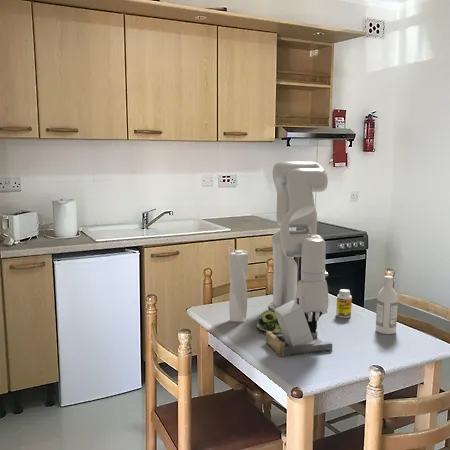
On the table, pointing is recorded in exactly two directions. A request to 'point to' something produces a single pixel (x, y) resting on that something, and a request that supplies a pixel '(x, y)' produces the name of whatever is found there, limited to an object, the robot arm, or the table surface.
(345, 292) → the supplement bottle
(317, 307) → the robot arm
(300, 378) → the table surface
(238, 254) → the skyscraper
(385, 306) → the bath foam
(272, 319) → the salad plate
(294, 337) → the supplement box
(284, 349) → the channel bracket
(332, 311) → the table surface
